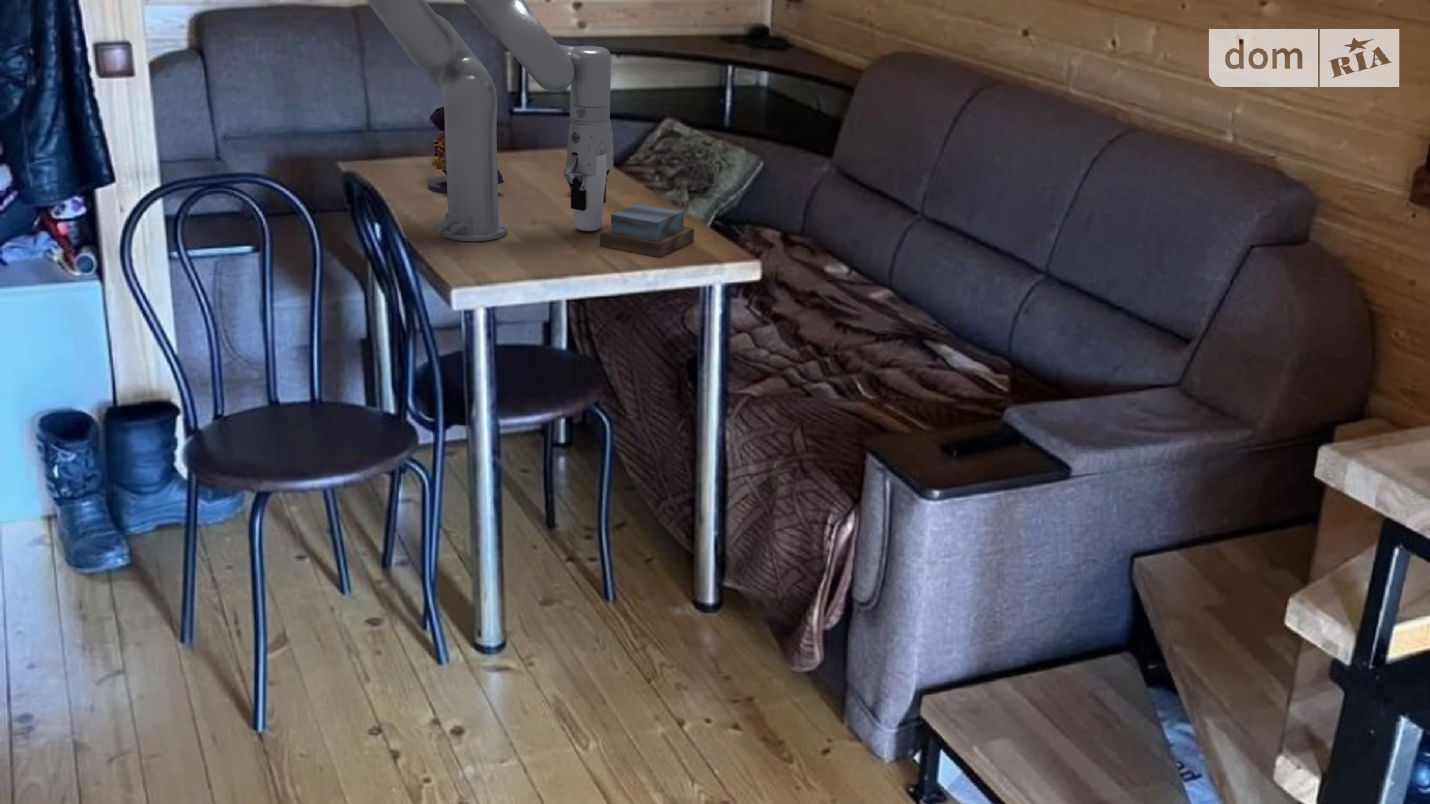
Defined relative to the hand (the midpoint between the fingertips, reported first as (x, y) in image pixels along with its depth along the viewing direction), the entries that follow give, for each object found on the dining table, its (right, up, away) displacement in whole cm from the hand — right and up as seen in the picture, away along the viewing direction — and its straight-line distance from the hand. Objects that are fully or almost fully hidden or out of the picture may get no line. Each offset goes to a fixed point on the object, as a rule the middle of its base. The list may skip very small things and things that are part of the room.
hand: (588, 205), depth 279 cm
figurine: (-30, +8, +29) cm, 43 cm away
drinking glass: (0, -4, +2) cm, 5 cm away
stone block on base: (+12, -8, -6) cm, 15 cm away
